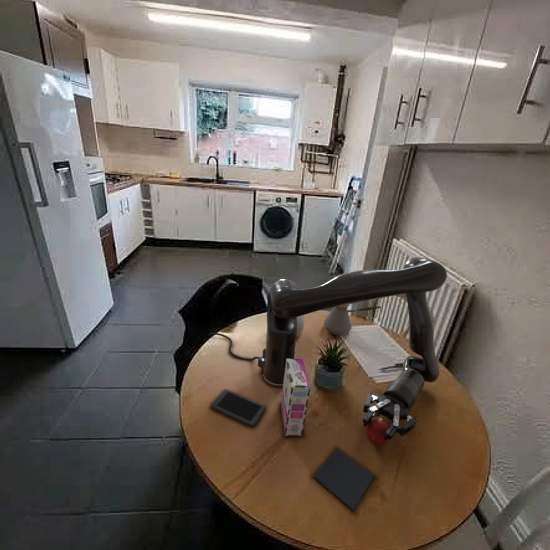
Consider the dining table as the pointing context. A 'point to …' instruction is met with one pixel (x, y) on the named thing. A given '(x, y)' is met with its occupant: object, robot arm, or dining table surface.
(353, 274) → the robot arm
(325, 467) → the front mat
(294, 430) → the candy bar box
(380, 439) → the onion
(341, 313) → the coffee pot
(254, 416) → the cell phone
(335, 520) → the dining table surface
